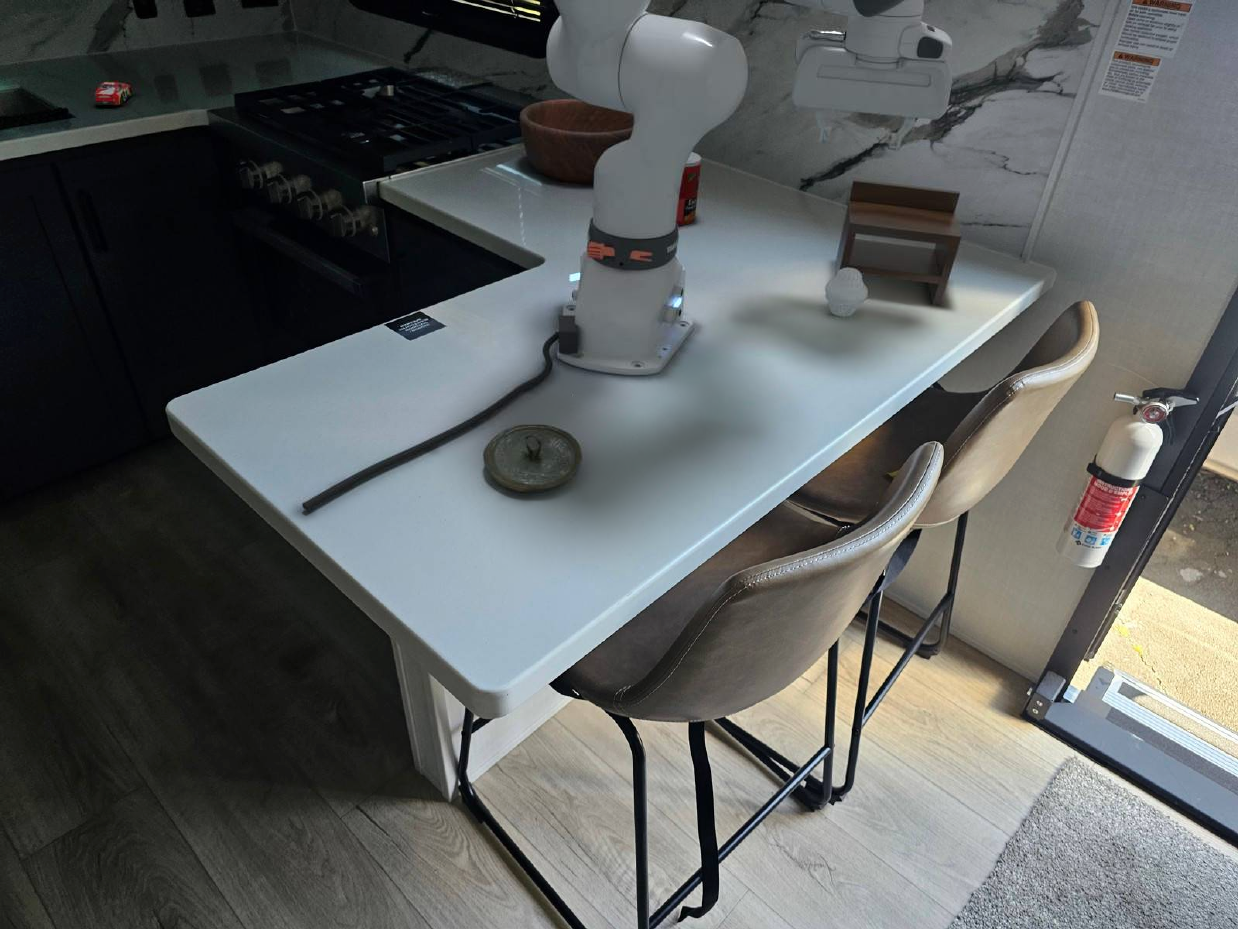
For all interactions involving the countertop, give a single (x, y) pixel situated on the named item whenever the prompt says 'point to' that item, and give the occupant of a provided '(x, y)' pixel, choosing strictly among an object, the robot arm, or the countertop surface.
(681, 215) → the canned food
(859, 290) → the muffin
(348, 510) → the countertop surface
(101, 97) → the race car
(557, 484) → the lid
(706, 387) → the countertop surface
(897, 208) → the shelf
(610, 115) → the wooden bowl
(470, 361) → the countertop surface
